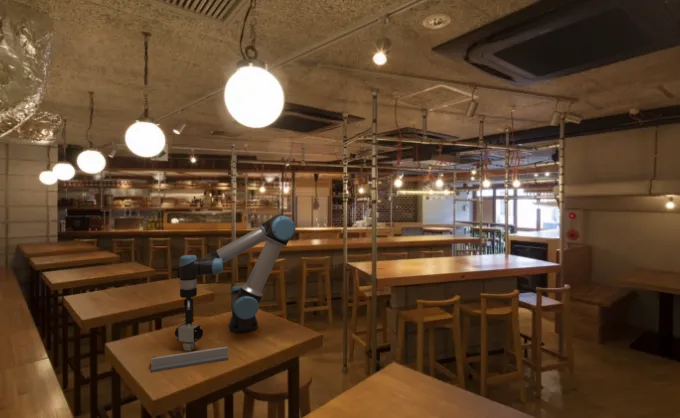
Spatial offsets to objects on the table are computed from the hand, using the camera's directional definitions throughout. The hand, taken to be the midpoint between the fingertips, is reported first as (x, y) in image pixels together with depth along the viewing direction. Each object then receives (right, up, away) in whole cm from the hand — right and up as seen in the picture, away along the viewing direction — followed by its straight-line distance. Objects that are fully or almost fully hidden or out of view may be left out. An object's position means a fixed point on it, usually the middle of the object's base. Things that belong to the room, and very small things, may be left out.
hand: (189, 336), depth 182 cm
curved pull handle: (+8, -4, -19) cm, 21 cm away
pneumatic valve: (+3, -4, -6) cm, 7 cm away
